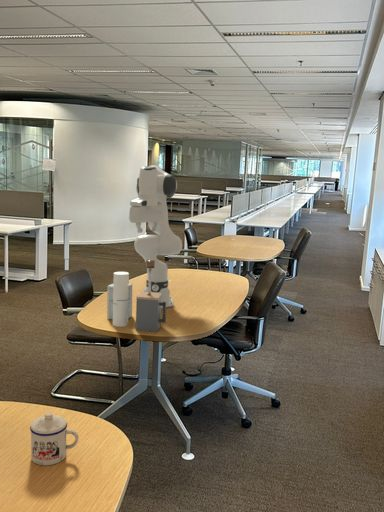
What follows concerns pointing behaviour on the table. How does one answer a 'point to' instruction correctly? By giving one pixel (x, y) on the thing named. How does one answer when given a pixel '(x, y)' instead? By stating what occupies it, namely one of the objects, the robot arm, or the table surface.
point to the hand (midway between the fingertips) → (146, 232)
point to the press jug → (149, 311)
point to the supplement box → (110, 301)
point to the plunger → (150, 265)
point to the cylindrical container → (120, 299)
